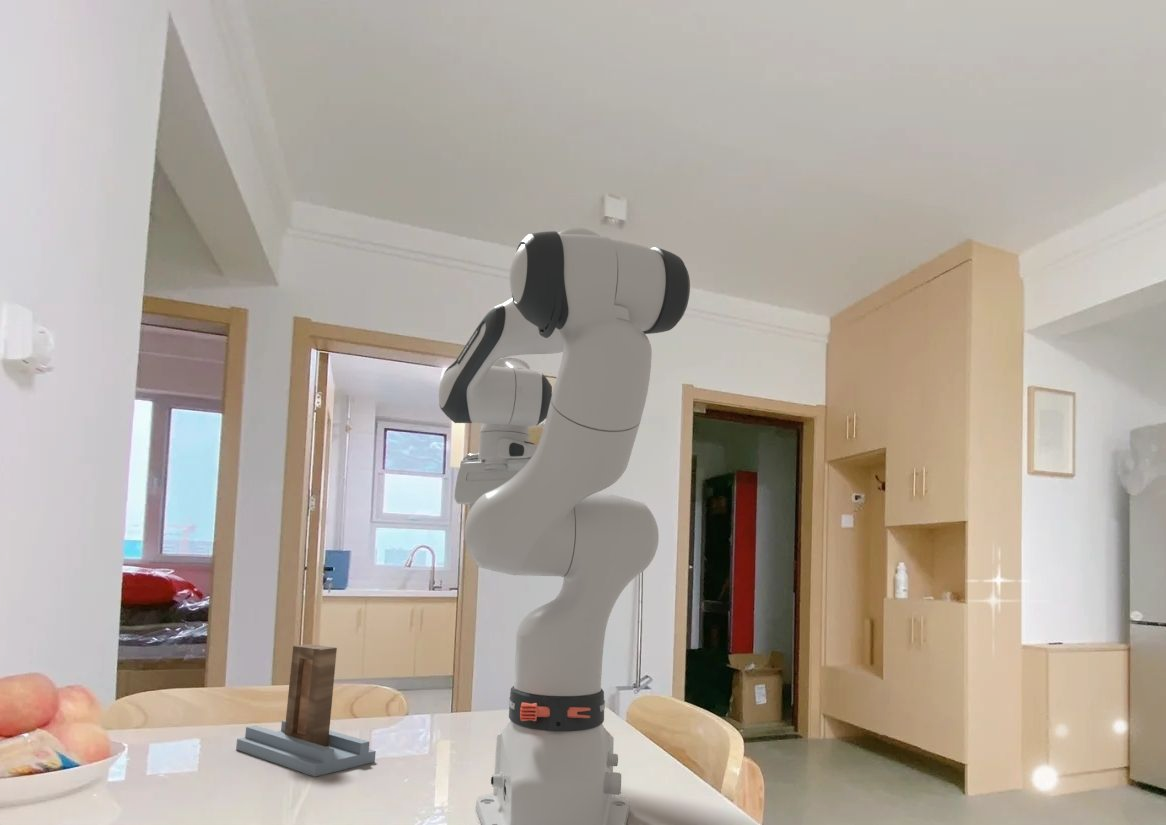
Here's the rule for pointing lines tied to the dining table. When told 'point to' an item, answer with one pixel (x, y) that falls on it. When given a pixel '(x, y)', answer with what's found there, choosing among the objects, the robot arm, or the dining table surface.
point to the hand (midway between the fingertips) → (499, 531)
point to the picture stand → (306, 750)
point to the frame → (311, 693)
